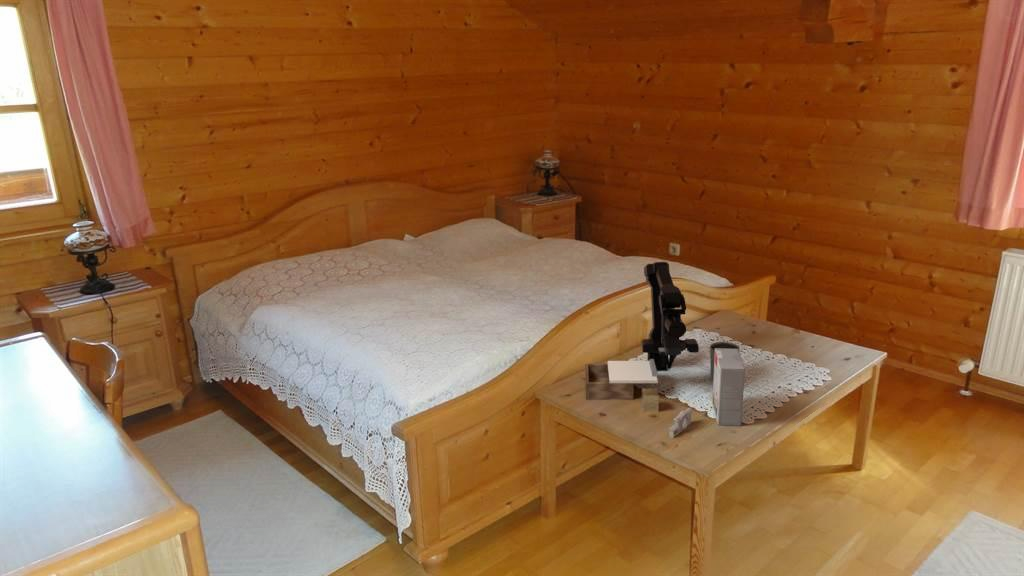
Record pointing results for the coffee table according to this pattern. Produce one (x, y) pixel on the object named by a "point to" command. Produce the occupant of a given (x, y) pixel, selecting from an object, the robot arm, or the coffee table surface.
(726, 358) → the hard drive box
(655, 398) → the block
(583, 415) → the coffee table surface
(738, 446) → the coffee table surface
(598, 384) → the storage box
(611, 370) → the box lid
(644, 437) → the coffee table surface
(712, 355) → the drinking glass
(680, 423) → the garden wall model
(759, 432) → the coffee table surface
